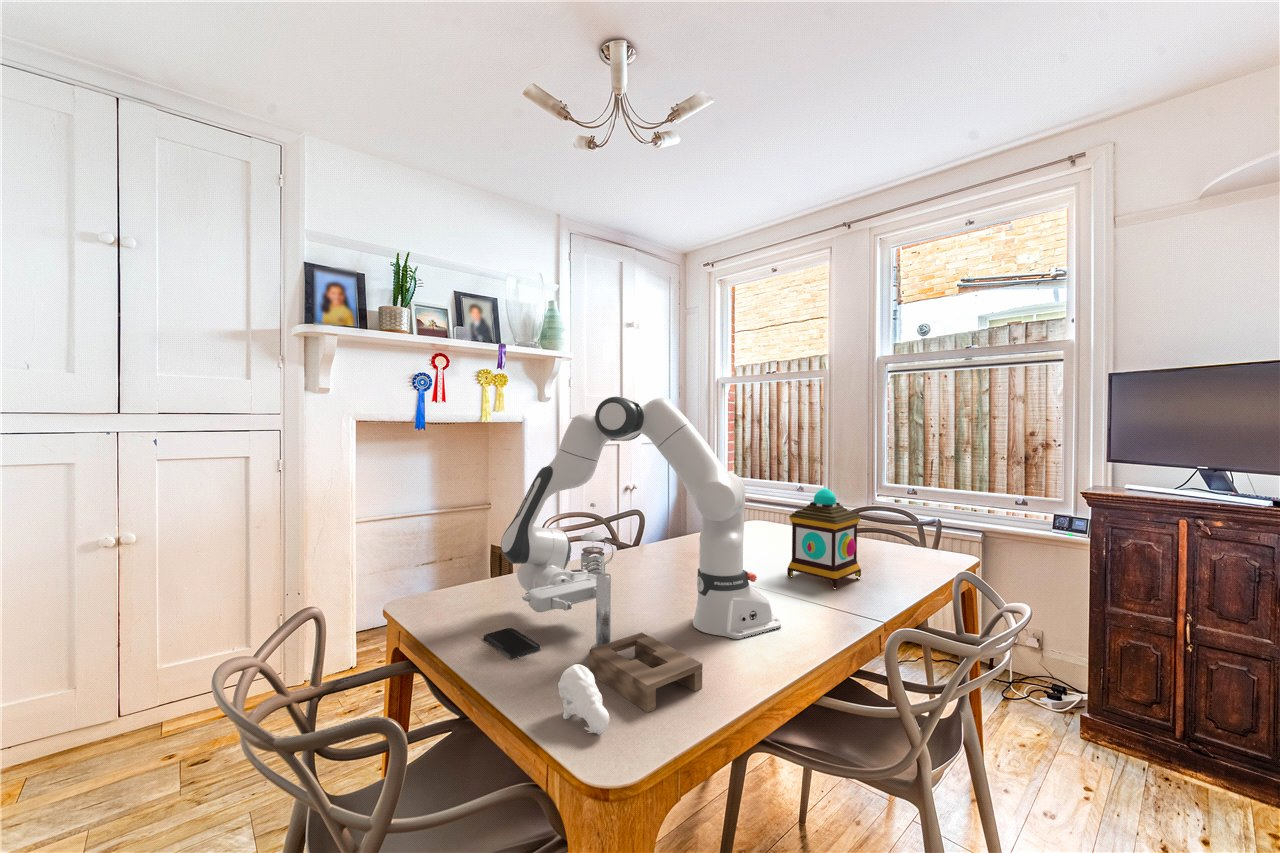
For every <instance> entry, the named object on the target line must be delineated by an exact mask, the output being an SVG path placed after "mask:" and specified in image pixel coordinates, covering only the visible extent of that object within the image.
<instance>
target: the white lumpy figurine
mask: <svg viewBox="0 0 1280 853" xmlns="http://www.w3.org/2000/svg"><path fill="white" fill-rule="evenodd" d="M557 686H558V695H559V696H560V698H561V700H562V706H563V714H562V717H563V720H569V718H570V717H571V716H574V715H576V716H577V717H578V718H581V719H583V720H584V721H586V723H587V725H588V726H584V728H583V729H584V730H586V731H588V732H586V734H587V733H588V734H597V735H598V736H599V735H601V734H602V733H603V731H604V730H605V729H606V728H607V727H608V725H609V722H610V714H609V712H608V710H607V709H606V708H605V706H604V705H603V695H602V692H600V690H599V688H598V686H597V684H596V678H595V676H594V675H593V673H592V672H590V671H589V667H586V666H585V665H582V664H577V663H575V664H572V665H571V666H570V667H568V668H567V669H565V670H564V671H563V673H562V674H561V676H560V680H559V682H558V683H557Z"/></svg>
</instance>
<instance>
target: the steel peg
mask: <svg viewBox="0 0 1280 853" xmlns="http://www.w3.org/2000/svg"><path fill="white" fill-rule="evenodd" d="M611 579H612V575H611V574H610V573H606V572H605V573H601V574H597V575H596V601H595V604H596V606H595V608H596V610H595V611H596V612H595V614H596V615H595V620H596V622H595V628H596V629H595V632H596V633H595V634H596V636H595V638H596V639H595V640H596V641H595V644H593V645H592V646H591V647H590V649H592V648H595V647H598V646H601V645H604V644H607V643H610V642H612V641H611V639H612V638H611V636H612V635H611V628H612V627H611V626H612V625H611V619H612V618H611V617H612V616H611V611H612V609H611V606H612V605H611V598H612V597H611V596H612V590H611V589H612V587H611V586H612V584H611V583H612V580H611Z"/></svg>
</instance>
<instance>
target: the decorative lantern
mask: <svg viewBox="0 0 1280 853" xmlns="http://www.w3.org/2000/svg"><path fill="white" fill-rule="evenodd" d="M788 518H789V520H790V522H791V526H792V531H791V534H792V535H791V560H790V562H789V563H788V567H787V571H786V572H787V573H786V574H787V577H788V576H789V577H791V576H792V577H793V575H794V572H797V573H801V574H803V575H808V576H813V577H817V578H821V579H824V580H829V581H830V582H831V585H832V588H833V587H834V588H837V589H838V584H839V581H840V580H843V579H844V578H847V577H849V576H851V575H855V576H858V577H860V576H862V570H861V567H860V565H859V563H858V560H857V557H858V556H857V554H858V553H857V550H858V549H857V548H858V546H857V544H858V524H859V523H860V521H861V516H860V515H859V514H858V513H855V511H853V510H849V509H847V508H846V507H844V506H843V505H841V503H840V502H837V497H836V494H834V492H832V491H831V490H830V489H829V488H826V487H824V488H821V489H819V490H818V491H816V493H815V494H814V497H813V501H810V503H809V504H807V505H806V506H805V507H803V508H801V509H797V510H795V511H794V512H792V513H791V514H790V515H789V516H788ZM855 576H854V577H855ZM789 577H788V578H789ZM860 578H861V577H860Z"/></svg>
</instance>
